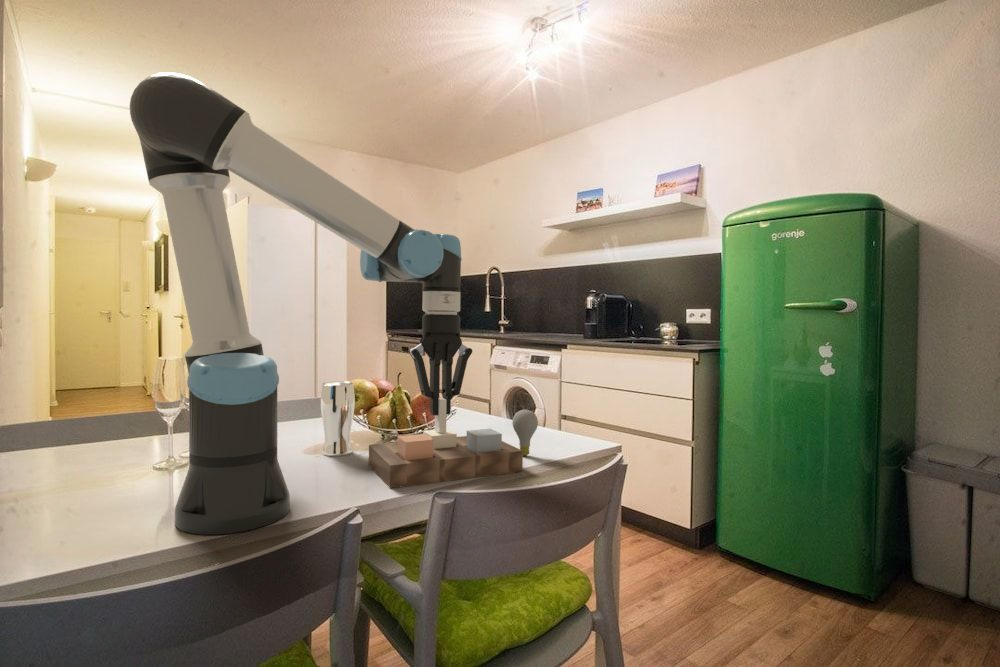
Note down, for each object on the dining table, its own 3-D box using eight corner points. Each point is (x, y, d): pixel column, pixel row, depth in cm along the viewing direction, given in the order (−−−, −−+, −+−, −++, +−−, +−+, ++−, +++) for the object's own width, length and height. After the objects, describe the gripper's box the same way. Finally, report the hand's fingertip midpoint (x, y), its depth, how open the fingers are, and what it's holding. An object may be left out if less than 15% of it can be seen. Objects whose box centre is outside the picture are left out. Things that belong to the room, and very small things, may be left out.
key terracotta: (405, 469, 97) (405, 442, 97) (397, 462, 101) (397, 436, 101) (432, 466, 99) (433, 439, 99) (423, 459, 104) (424, 433, 104)
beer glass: (348, 457, 113) (349, 385, 112) (315, 456, 113) (316, 385, 113) (358, 449, 120) (358, 381, 119) (326, 448, 120) (327, 381, 120)
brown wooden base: (389, 488, 93) (390, 465, 93) (368, 464, 108) (368, 444, 107) (522, 471, 105) (522, 450, 105) (487, 452, 119) (487, 434, 119)
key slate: (476, 462, 103) (477, 436, 103) (466, 455, 108) (466, 430, 108) (501, 459, 105) (501, 433, 105) (489, 453, 110) (490, 428, 110)
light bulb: (527, 460, 113) (528, 412, 112) (506, 456, 116) (507, 409, 116) (542, 455, 117) (543, 409, 117) (521, 451, 120) (522, 406, 120)
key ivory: (431, 461, 105) (431, 436, 105) (422, 455, 110) (423, 430, 110) (456, 458, 108) (456, 433, 107) (446, 452, 112) (447, 428, 112)
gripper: (415, 313, 102) (414, 437, 102) (479, 313, 107) (477, 432, 108) (404, 313, 108) (403, 430, 109) (464, 313, 114) (463, 425, 115)
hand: (440, 431), depth 109 cm, fingers closed
